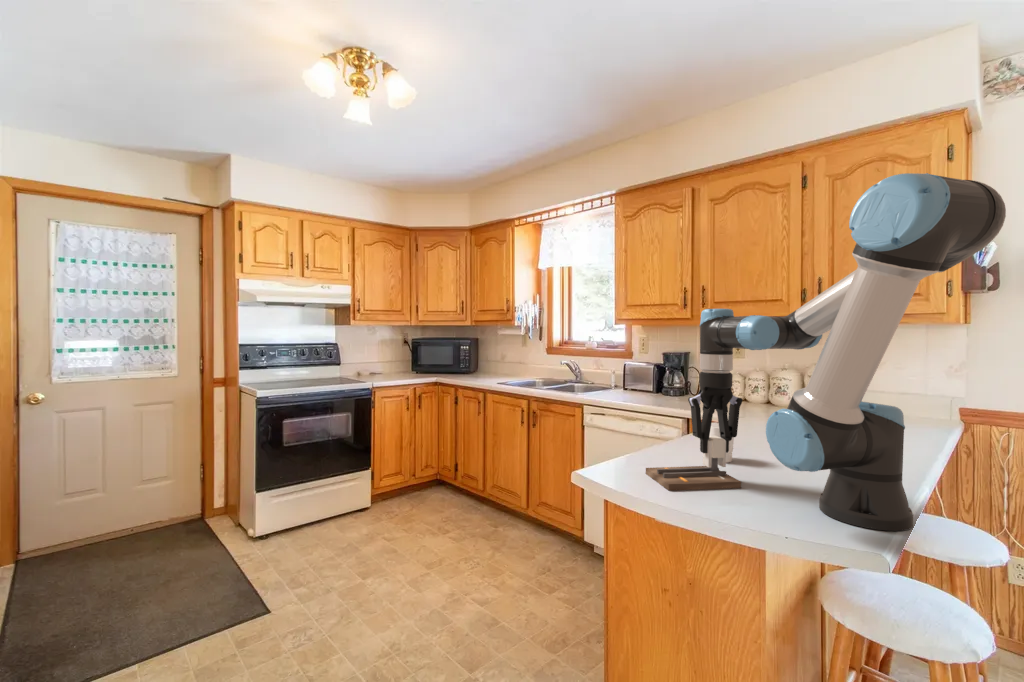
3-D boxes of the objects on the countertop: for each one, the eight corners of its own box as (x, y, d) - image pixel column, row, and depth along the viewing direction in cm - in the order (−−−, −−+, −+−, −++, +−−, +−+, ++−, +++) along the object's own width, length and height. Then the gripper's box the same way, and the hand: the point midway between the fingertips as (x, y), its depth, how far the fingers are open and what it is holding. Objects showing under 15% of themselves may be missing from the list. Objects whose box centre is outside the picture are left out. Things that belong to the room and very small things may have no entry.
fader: (724, 473, 116) (724, 439, 116) (712, 474, 116) (713, 439, 116) (715, 469, 120) (715, 435, 120) (704, 469, 120) (704, 435, 120)
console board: (741, 487, 112) (741, 477, 112) (668, 490, 110) (668, 479, 110) (711, 471, 125) (711, 462, 125) (645, 473, 123) (645, 464, 122)
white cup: (728, 456, 140) (728, 422, 140) (738, 464, 132) (738, 428, 132) (700, 455, 141) (701, 422, 140) (708, 463, 133) (709, 427, 133)
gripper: (737, 369, 122) (735, 460, 123) (677, 370, 120) (676, 462, 121) (755, 372, 115) (753, 469, 115) (692, 372, 113) (691, 471, 113)
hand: (714, 465), depth 118 cm, fingers closed on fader, 3 cm apart
